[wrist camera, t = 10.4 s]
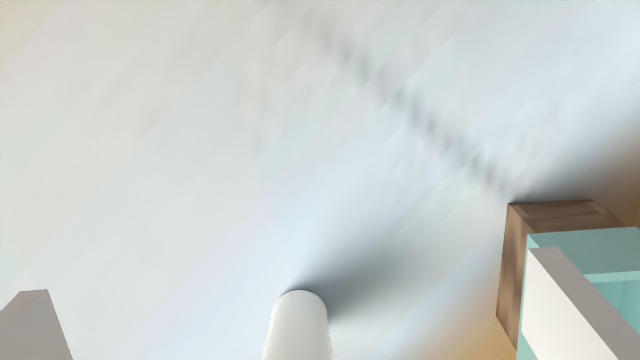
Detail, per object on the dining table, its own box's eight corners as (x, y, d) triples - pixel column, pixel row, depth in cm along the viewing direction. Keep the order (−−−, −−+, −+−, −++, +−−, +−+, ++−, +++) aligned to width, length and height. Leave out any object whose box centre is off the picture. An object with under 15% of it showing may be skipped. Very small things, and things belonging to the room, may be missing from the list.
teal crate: (521, 227, 38) (565, 275, 32) (626, 219, 38) (693, 267, 32) (510, 351, 43) (547, 417, 36) (604, 345, 43) (659, 410, 36)
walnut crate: (507, 202, 43) (536, 233, 37) (589, 198, 43) (631, 229, 37) (495, 314, 47) (519, 357, 42) (570, 311, 47) (605, 353, 42)
